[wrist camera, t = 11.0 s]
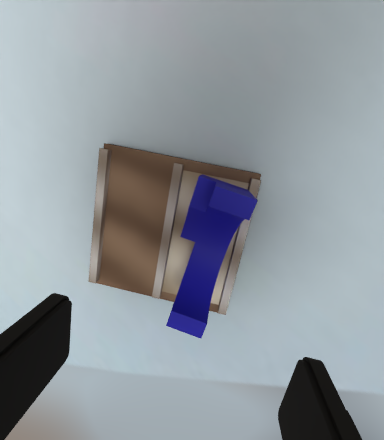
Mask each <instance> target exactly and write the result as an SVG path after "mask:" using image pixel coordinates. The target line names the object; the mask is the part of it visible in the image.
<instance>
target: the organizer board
mask: <svg viewBox="0 0 384 440" xmlns="http://www.w3.org/2000/svg"><path fill="white" fill-rule="evenodd" d="M202 174H203V175H206V176H209V177H212V178H215V179H218V180H221V181H223V182H226V183H229V184H232V185H235V186H238V187H241V188H244V189H247V190H249V191H250V192H251V194H252V195H253V196H254V197H255V198H257V195H258V191H259V187H260V183H261V180H260V177H261V174H258V173H253V172H248V171H243V170H237V169H232V168H227V167H222V166H217V165H212V164H207V163H202V162H197V161H192V160H187V159H182V158H177V157H172V156H167V155H162V154H157V153H152V152H147V151H142V150H137V149H131V148H126V147H121V146H116V145H111V144H105V143H104V149H102V148H99V160H98V173H97V185H96V197H95V209H94V221H93V234H92V246H91V258H90V270H89V282H92V283H98V284H103V285H107V286H111V287H115V288H119V289H123V290H127V291H131V292H135V293H139V294H144V295H148V296H152V297H154V298H158V299H159V298H160V299H164V300H168V301H172V302H175V299H176V296H177V293H178V290H179V287H180V284H181V281H182V278H183V276H184V273H185V270H186V267H187V264H188V261H189V259H190V256H191V253H192V250H193V247H194V244H195V242H193V241H190V240H188V239H185V238H182V237H180V236H181V233H182V230H183V227H184V223H185V220H186V216H187V213H188V208H189V205H190V202H191V199H192V196H193V193H194V190H195V187H196V184H197V181H198V177H199V176H200V175H202ZM251 217H252V215H251ZM250 221H251V218H250V220H246V219H245V220H243V221H242V223H241V224H240V225H239V227H238V228H237V230H236V232H235V234H234V236H233V238H232V240H231V242H230V244H229V246H228V249H227V251H226V254H225V256H224V259H223V262H222V265H221V267H220V270H219V274H218V277H217V280H216V283H215V287H214V291H213V294H212V298H211V303H210V308H209V311H213V312H217V313H219V314H224V315H226V311H227V308H228V304H229V300H230V296H231V293H232V289H233V285H234V281H235V278H236V274H237V270H238V266H239V262H240V259H241V255H242V251H243V247H244V244H245V240H246V236H247V232H248V228H249V225H250Z"/></svg>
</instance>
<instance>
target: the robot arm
mask: <svg viewBox="0 0 384 440" xmlns="http://www.w3.org/2000/svg"><path fill="white" fill-rule="evenodd" d="M71 307H72V303H71V301H69V298H68V297H67V296H64V295H60V294H56V293H53V294H51V295H50V296H49V297H47V298H46V299H45V300H44V301H42V302H41V303H40V304H38V305H37V306H36V307H35V308H33V309H32V310H31V311H30V312H28V313H27V314H26V315H25V316H23V317H22V318H21V319H19V320H18V321H17V322H16V323H14V324H13V325H12V326H10V327H9V328H8V329H7V330H5V331H4V332H3V333H1V334H0V440H4V439H5V438H6V437H7V435H8V434H9V433H10V432H11V430H12V429H13V428H14V427H15V425H16V424H17V423H18V421H19V420H20V419H21V418H22V416H23V415H24V414H25V412H26V411H27V410H28V409H29V407H30V406H31V405H32V403H33V402H34V401H35V400H36V398H37V397H38V396H39V395H40V393H41V392H42V391H43V389H44V388H45V387H46V385H47V384H48V383H49V382H50V380H51V379H52V378H53V376H54V375H55V374H56V373H57V371H58V370H59V369H60V367H61V366H62V365H63V364H64V362H65V361H66V359H67V357H68V354H69V345H70V326H71ZM278 420H279V425H280V430H281V435H282V439H283V440H362V438H361V436H360V434H359V432H358V430H357V428H356V426H355V424H354V422H353V420H352V418H351V416H350V415H349V413H348V411H347V410H346V409H345V407H344V405H343V403H342V401H341V399H340V397H339V395H338V393H337V390H336V388H335V386H334V384H333V382H332V380H331V378H330V376H329V374H328V372H327V370H326V368H325V366H324V364H323V362H322V361H320V360H316V359H312V358H308V357H304V358H303V360H299V361H298V362H297V365H296V367H295V370H294V373H293V375H292V378H291V380H290V383H289V385H288V388H287V390H286V393H285V395H284V398H283V400H282V403H281V406H280V408H279V412H278Z"/></svg>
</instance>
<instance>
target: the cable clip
mask: <svg viewBox="0 0 384 440" xmlns="http://www.w3.org/2000/svg"><path fill="white" fill-rule="evenodd" d="M256 203H257V199H256V198H255V197H254V196H253V195H252V194H251V192H250V191H249V190H247V189H244V188H241V187H238V186H235V185H232V184H229V183H226V182H223V181H221V180H218V179H215V178H212V177H209V176H206V175H203V174H202V175H200V176H199V177H198V181H197V184H196V187H195V190H194V193H193V196H192V199H191V202H190V205H189V208H188V213H187V216H186V220H185V223H184V227H183V230H182V233H181V236H180V237H182V238H185V239H188V240H190V241H193V242H195V244H194V247H193V250H192V253H191V256H190V259H189V261H188V264H187V267H186V270H185V273H184V276H183V278H182V281H181V284H180V287H179V290H178V293H177V296H176V299H175V302H174V304H173V307H172V310H171V313H170V316H169V319H168V322H167V325H166V326H169V327H171V328H174V329H177V330H179V331H182V332H185V333H187V334H190V335H193V336H196V337H198V338H201V337H202V335H203V332H204V330H205V327H206V325H207V319H208V313H209V308H210V303H211V298H212V294H213V291H214V287H215V283H216V280H217V277H218V274H219V270H220V267H221V265H222V262H223V259H224V256H225V254H226V251H227V249H228V246H229V244H230V242H231V240H232V238H233V236H234V234H235V232H236V230H237V228H238V227H239V225H240V224H241V223H242V221H243V220H245V219H246V220H250V218H251V215H252V213H253V210H254V208H255V205H256Z"/></svg>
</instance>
